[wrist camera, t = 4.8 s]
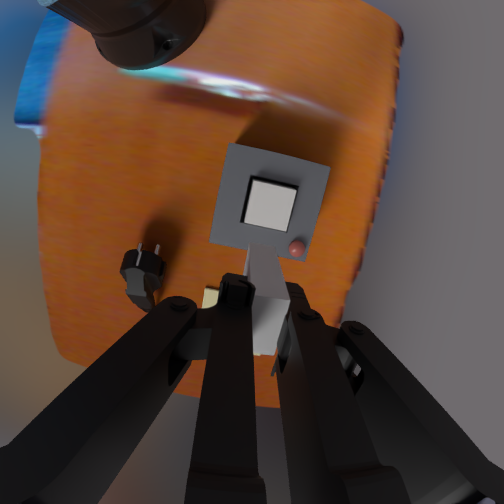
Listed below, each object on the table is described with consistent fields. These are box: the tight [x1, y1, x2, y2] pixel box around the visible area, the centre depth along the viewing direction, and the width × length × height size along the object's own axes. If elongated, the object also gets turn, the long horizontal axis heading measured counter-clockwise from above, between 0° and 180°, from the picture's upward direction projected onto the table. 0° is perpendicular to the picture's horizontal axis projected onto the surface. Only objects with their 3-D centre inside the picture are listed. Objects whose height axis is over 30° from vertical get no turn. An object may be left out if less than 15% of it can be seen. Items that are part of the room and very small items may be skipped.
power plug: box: [120, 242, 166, 313], centre depth 35 cm, size 6×8×12 cm
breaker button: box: [244, 178, 297, 231], centre depth 27 cm, size 4×4×4 cm
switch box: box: [209, 143, 331, 262], centre depth 30 cm, size 10×10×8 cm
